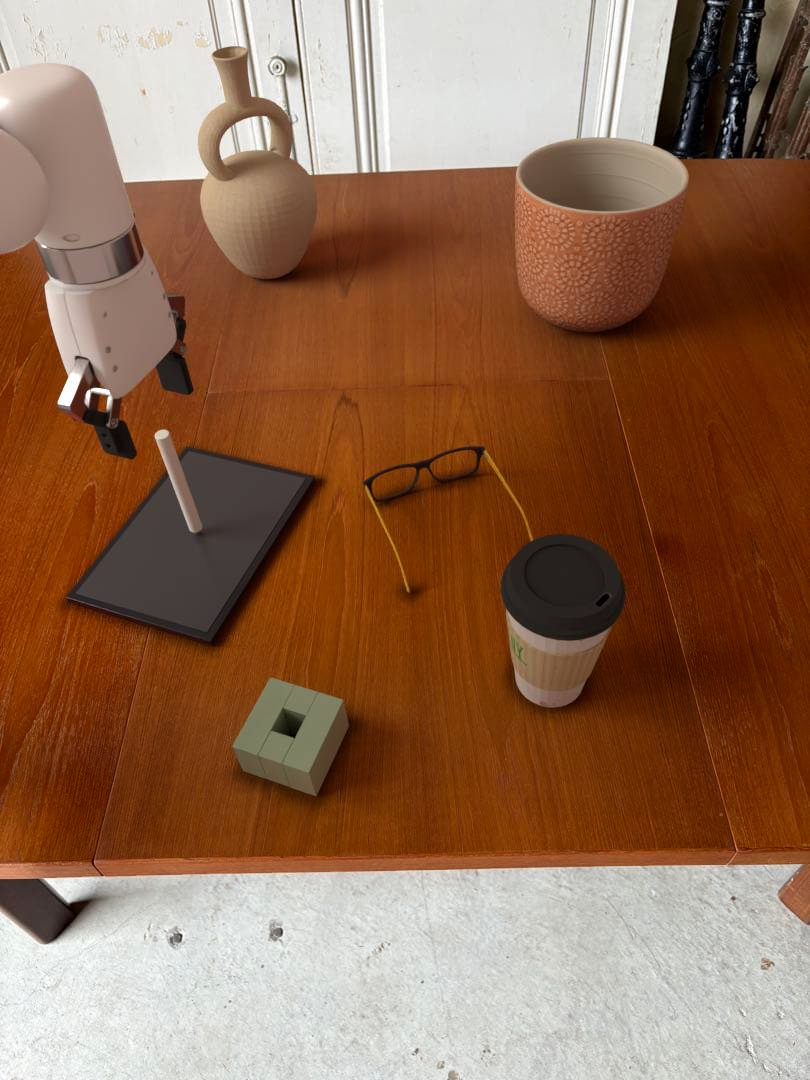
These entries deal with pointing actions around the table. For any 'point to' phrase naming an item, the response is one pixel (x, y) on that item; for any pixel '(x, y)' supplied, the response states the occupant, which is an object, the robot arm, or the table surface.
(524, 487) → the table surface
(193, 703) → the table surface
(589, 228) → the planter
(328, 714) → the stylus holder
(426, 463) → the eyeglasses
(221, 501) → the tablet
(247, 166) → the vase
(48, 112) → the robot arm
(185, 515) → the stylus
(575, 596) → the coffee cup
